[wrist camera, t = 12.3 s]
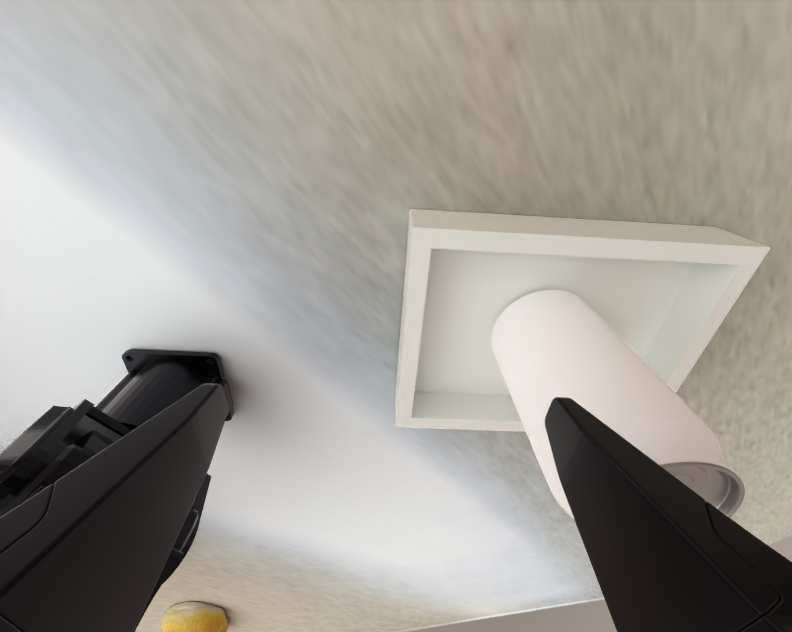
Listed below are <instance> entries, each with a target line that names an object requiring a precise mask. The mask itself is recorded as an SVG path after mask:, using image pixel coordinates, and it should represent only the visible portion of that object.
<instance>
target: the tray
mask: <svg viewBox="0 0 792 632" xmlns="http://www.w3.org/2000/svg"><path fill="white" fill-rule="evenodd" d="M770 248H771V247H768V246H765V245H763V244H760V243H757V242H755V241H752V240H749V239H746V238H744V237H741V236H738V235H736V234H733V233H730V232H728V231H725V230H722V229H720V228H717V227H711V226H694V225H677V224H660V223H643V222H626V221H609V220H592V219H575V218H558V217H541V216H524V215H507V214H490V213H473V212H456V211H439V210H422V209H410V213H409V225H408V238H407V250H406V263H405V275H404V287H403V300H402V312H401V325H400V337H399V350H398V362H397V375H396V387H395V417H396V427H398V428H429V429H460V430H490V431H521V432H526V431H525V429H524V426H523V424H522V421H521V419H520V416H519V414H518V412H517V409H516V407H515V404H514V402H513V400H512V397H511V395H510V392H509V390H508V387H507V385H506V382H505V380H504V378H503V375H502V373H501V370H500V368H499V365H498V363H497V360H496V358H495V355H494V352H493V349H492V345H491V334H492V330H493V327H494V325H495V322H496V321H497V319H498V317H499V316H500V315H501V313H502V312H503V311H504V310H505V309H506V308H507V307H508V306H509V305H511V304H512V303H513V302H515V301H516V300H518V299H520V298H522V297H524V296H526V295H528V294H531V293H534V292H538V291H544V290H562V291H567V292H571V293H573V294H575V295H576V296H578V297H579V298H581V299H582V300H583V301H584V302H585V303H586V304H587V305H588V306H589V307H590V308H591V309H592V310H593V311H594V312H595V313H596V314H597V315H598V316H599V317H600V318H601V319H602V320H603V321H604V322H605V323H606V324H607V325H608V326H609V327H610V328H611V329H612V330H613V331H614V332H615V333H616V334H617V335H618V336H619V337H620V338H621V339H622V340H623V341H624V342H625V343H626V344H627V345H628V346H629V347H630V348H631V349H632V350H633V351H634V352H635V353H636V354H637V355H638V356H639V357H640V358H641V359H642V360H643V361H644V362H645V363H646V364H647V365H648V366H649V367H650V368H651V369H652V370H653V371H654V372H655V373H656V374H657V375H658V376H659V377H660V378H661V379H662V380H663V381H664V382H665V383H666V384H667V385H668V386H669V387H670V388H671V389H672V390H673V391H674V392H675V393H676V392H677V391H678V389H679V387H680V386H681V384H682V383H683V381H684V380H685V378H686V377H687V375H688V374H689V372H690V371H691V369H692V368H693V366H694V365H695V363H696V361H697V360H698V358H699V357H700V355H701V354H702V352H703V351H704V349H705V348H706V346H707V345H708V343H709V342H710V340H711V338H712V337H713V335H714V334H715V332H716V331H717V329H718V328H719V326H720V325H721V323H722V322H723V320H724V319H725V317H726V315H727V314H728V312H729V311H730V309H731V308H732V306H733V305H734V303H735V302H736V300H737V299H738V297H739V296H740V294H741V293H742V291H743V289H744V288H745V286H746V285H747V283H748V282H749V280H750V279H751V277H752V276H753V274H754V273H755V271H756V270H757V268H758V266H759V265H760V263H761V262H762V260H763V259H764V257H765V256H766V254H767V253H768V251H769V250H770Z"/></svg>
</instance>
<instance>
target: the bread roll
mask: <svg viewBox="0 0 792 632" xmlns="http://www.w3.org/2000/svg"><path fill="white" fill-rule="evenodd" d="M227 628H228V623H227V618H226V616H225V612H224V610H223V609H222V608H220V607H218V606H215V605H211V604H207V603H202V602H193V601H190V602H182V603H179V604H176V605H174V606H172V607H170V608H169V609H168V610H167V612H166V613H165V615H164V617H163V619H162V623H161V629H162V632H226V631H227Z"/></svg>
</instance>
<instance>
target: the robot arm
mask: <svg viewBox="0 0 792 632" xmlns="http://www.w3.org/2000/svg"><path fill="white" fill-rule="evenodd" d="M122 359H123V361H124V363H125V366H126V368H127V370H128V372H129V374H128V375H127V376H126V377H125V378H124V379H123V380H122V381H121V382H120V383H119V384H118V385H117V386H116V387H115V388H114V389H113V390H112V391H111V392H110V393H109V394H108V395H107V396H106V397H105V398H104V399H103V400H102V401H101V402H100V403H99V404H98V405H97V406H96V407H94V404H92V403H91V402H89V401H88V400H86V399H85V400H83V401H82V402H81V403H79V404H78V405H77V406H76V407H74V408H71V407H59V406H53V407H52V408H51V409H49V410H48V411H47V412H46V413H45V414H44V415H42V416H41V417H40V418H39V419H38V420H37V421H36V422H35V423H33V424H32V425H31V426H30V427H29V428H28V429H27V430H26V431H24V432H23V433H22V434H21V435H20V436H19V437H18V438H17V439H16V440H15V441H13V442H12V443H11V444H10V445H9V446H8V447H7V448H6V449H5V450H4V451H3V452H2V453H1V454H0V632H135V630H136V628H137V626H138V624H139V622H140V621H141V619H142V617H143V615H144V613H145V611H146V610H147V608H148V606H149V604H150V603H151V601H152V599H153V597H154V596H155V594H156V593H157V591H158V590H159V588H160V586H161V585H162V584H163V583H164V582H165V581H166V580H167V579H168V578H169V577H170V576H171V575H172V573H173V572H174V571H175V570H176V568H177V567H178V566H179V564H180V563H181V561H182V560H183V558H184V557H185V556H186V554H187V552H188V550H189V548H190V547H191V545H192V542H193V540H194V538H195V535H196V532H197V529H198V526H199V522H200V518H201V514H202V510H203V506H204V502H205V499H206V495H207V491H208V487H209V483H210V479H211V476H210V475H208V474H207V471H208V469H209V466H210V463H211V461H212V458H213V455H214V452H215V449H216V446H217V443H218V440H219V437H220V434H221V431H222V428H223V425H224V422H225V421H229V420H231V419H232V417H233V415H234V412H233V408H232V406H233V402H232V398H231V394H230V390H229V386H228V382H227V381H226V379H225V377H224V374H223V370H222V366H221V362H220V358H219V356H218V355H216V354H214V353H206V352H181V351H157V350H132V349H130V350H127V351H126V352H125V353H124V354H123V355H122ZM210 359H211V360H213V361H211V360H210ZM545 428H546V431H547V435H548V439H549V443H550V446H551V450H552V454H553V458H554V462H555V465H556V469H557V473H558V476H559V479H560V482H561V485H562V488H563V490H564V493H565V496H566V498H567V501H568V504H569V506H570V509H571V511H572V514H573V517H574V519H575V522H576V525H577V527H578V530H579V532H580V535H581V538H582V540H583V543H584V546H585V548H586V551H587V553H588V556H589V559H590V561H591V564H592V567H593V569H594V572H595V574H596V577H597V580H598V582H599V585H600V588H601V590H602V593H603V595H604V598H605V601H606V603H607V606H608V609H609V611H610V614H611V616H612V619H613V622H614V624H615V627H616V630H617V632H792V562H791V561H789V560H788V559H786V558H785V557H783V556H782V555H781V554H779V553H778V552H776V551H775V550H774V549H772V548H771V547H769V546H768V545H766V544H765V543H763V542H762V541H761V540H759V539H758V538H756V537H755V536H754V535H752V534H751V533H749V532H748V531H747V530H745V529H744V528H743V527H741V526H740V525H739V524H737V523H736V522H734V521H733V520H732V519H730V518H729V517H728V516H726V515H725V514H724V513H722V512H721V511H720V510H718V509H717V508H716V507H714V506H713V505H712V504H710V503H709V502H705V500H704V498H702V497H701V496H700V495H698V494H697V493H696V492H694V491H693V490H692V489H690V488H689V487H688V486H686V485H685V484H684V483H682V482H681V481H680V480H678V479H677V478H676V477H675V476H673V475H672V474H671V473H669V472H668V471H667V470H665V469H664V468H663V467H661V466H660V465H659V464H657V463H656V462H655V461H653V460H652V459H651V458H649V457H648V456H647V455H645V454H644V453H643V452H641V451H640V450H639V449H637V448H636V447H635V446H633V445H632V444H631V443H629V442H628V441H627V440H626V439H624V438H623V437H622V436H620V435H619V434H618V433H616V432H615V431H614V430H612V429H611V428H610V427H608V426H607V425H606V424H604V423H603V422H602V421H600V420H599V419H598V418H596V417H595V416H594V415H592V414H591V413H590V412H588V411H587V410H586V409H584V408H583V407H582V406H580V405H579V404H578V403H577V402H575V401H574V400H572V399H571V398H568V397H555V398H554V399H553V400H552V402H551V404H550V407H549V409H548V412H547V414H546V417H545Z"/></svg>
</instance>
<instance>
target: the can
mask: <svg viewBox="0 0 792 632" xmlns="http://www.w3.org/2000/svg"><path fill="white" fill-rule="evenodd" d="M491 345H492V349H493V352H494V355H495V358H496V360H497V363H498V365H499V368H500V370H501V373H502V375H503V378H504V380H505V382H506V385H507V387H508V390H509V392H510V395H511V397H512V400H513V402H514V404H515V407H516V409H517V412H518V414H519V416H520V419H521V421H522V424H523V426H524V429H525V431H526V433H527V436H528V438H529V441H530V443H531V445H532V448H533V450H534V453H535V455H536V457H537V460H538V462H539V465H540V467H541V469H542V472H543V474H544V476H545V479H546V481H547V483H548V485H549V488H550V490H551V492H552V494H553V496H554V497H555V499H556V501H557V502H558V503H559V504H560V506H561V507H562V508H563V509H564V510H565V511H566V512H567V513H568V514H569V515H570V516H571V517H573V514H572V511H571V509H570V506H569V504H568V501H567V498H566V496H565V493H564V490H563V488H562V485H561V482H560V479H559V476H558V473H557V469H556V465H555V462H554V458H553V454H552V450H551V446H550V443H549V439H548V435H547V431H546V428H545V417H546V414H547V412H548V409H549V407H550V404H551V402H552V400H553V399H554V398H555V397H568V398H571V399H572V400H574V401H575V402H577V403H578V404H579V405H580V406H582V407H583V408H584V409H586V410H587V411H588V412H590V413H591V414H592V415H594V416H595V417H596V418H598V419H599V420H600V421H602V422H603V423H604V424H606V425H607V426H608V427H610V428H611V429H612V430H614V431H615V432H616V433H618V434H619V435H620V436H622V437H623V438H624V439H626V440H627V441H628V442H629V443H631V444H632V445H633V446H635V447H636V448H637V449H639V450H640V451H641V452H643V453H644V454H645V455H647V456H648V457H649V458H651V459H652V460H653V461H655V462H656V463H657V464H659V465H660V466H661V467H663V468H664V469H665V470H667V471H668V472H669V473H671V474H672V475H673V476H675V477H676V478H677V479H678V480H680V481H681V482H682V483H684V484H685V485H686V486H688V487H689V488H690V489H692V490H693V491H694V492H696V493H697V494H698V495H700V496H701V497H702V498H704V500H705V502H709V503H710V504H712V505H713V506H714V507H716V508H717V509H718V510H720V511H721V512H722V513H724V514H725V515H726V516H728V517H729V518H730V517H731V516H732V515H733V514H734V513H735V512H736V511H737V509H738V508H739V507H740V505H741V503H742V501H743V499H744V494H745V489H744V485H743V482H742V481H741V479H740V478H739V477H738V476H737V475H736V474H735V473H734V472H732V471H731V470H729V469H728V467H727V463H726V460H725V456H724V453H723V450H722V447H721V445H720V443H719V441H718V439H717V437H716V436H715V435H714V434H713V432H712V431H711V430H710V429H709V428H708V427H707V425H706V424H705V423H704V422H703V421H702V420H701V419H700V418H699V417H698V416H697V415H696V414H695V413H694V412H693V411H692V410H691V409H690V408H689V407H688V406H687V405H686V403H685V402H684V401H683V400H682V399H681V398H680V397H679V396H678V395H677V394H676V393H675V392H674V391H673V390H672V389H671V388H670V387H669V386H668V385H667V384H666V383H665V382H664V381H663V380H662V379H661V378H660V377H659V376H658V375H657V374H656V373H655V372H654V371H653V370H652V369H651V368H650V367H649V366H648V365H647V364H646V363H645V362H644V361H643V360H642V359H641V358H640V357H639V356H638V355H637V354H636V353H635V352H634V351H633V350H632V349H631V348H630V347H629V346H628V345H627V344H626V343H625V342H624V341H623V340H622V339H621V338H620V337H619V336H618V335H617V334H616V333H615V332H614V331H613V330H612V329H611V328H610V327H609V326H608V325H607V324H606V323H605V322H604V321H603V320H602V319H601V318H600V317H599V316H598V315H597V314H596V313H595V312H594V311H593V310H592V309H591V308H590V307H589V306H588V305H587V304H586V303H585V302H584V301H583V300H582V299H581V298H579V297H578V296H576V295H575V294H573V293H571V292H567V291H562V290H544V291H538V292H534V293H531V294H528V295H526V296H524V297H522V298H520V299H518V300H516V301H515V302H513V303H512V304H511V305H509V306H508V307H507V308H506V309H505V310H504V311H503V312H502V313H501V315H500V316H499V317H498V319H497V321H496V322H495V325H494V327H493V330H492V334H491ZM573 518H574V517H573Z"/></svg>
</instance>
